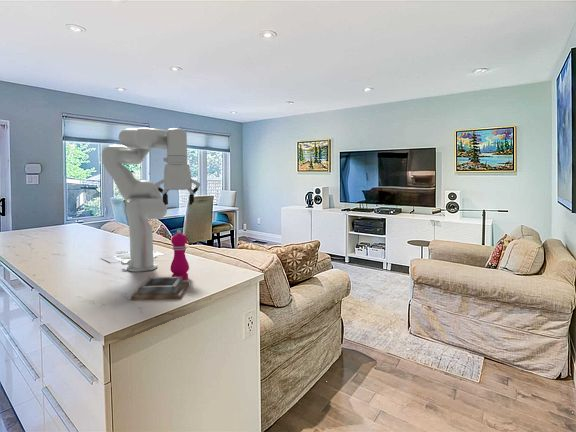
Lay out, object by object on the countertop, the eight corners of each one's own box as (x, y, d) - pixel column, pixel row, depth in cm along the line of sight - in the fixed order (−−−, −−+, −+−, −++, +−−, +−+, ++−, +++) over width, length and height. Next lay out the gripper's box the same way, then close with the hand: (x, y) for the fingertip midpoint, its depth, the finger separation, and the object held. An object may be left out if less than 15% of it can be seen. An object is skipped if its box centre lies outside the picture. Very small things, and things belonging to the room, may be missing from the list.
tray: (168, 257, 185) (167, 250, 184) (112, 268, 165) (112, 260, 165) (151, 251, 199) (150, 245, 199) (98, 261, 179) (97, 254, 179)
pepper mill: (183, 281, 138) (182, 231, 136) (167, 280, 139) (165, 230, 137) (192, 276, 145) (191, 228, 143) (176, 275, 146) (175, 228, 144)
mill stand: (131, 300, 116) (130, 289, 116) (145, 285, 132) (145, 276, 131) (180, 298, 118) (180, 288, 117) (188, 284, 133) (188, 275, 133)
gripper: (151, 160, 132) (153, 205, 134) (198, 160, 134) (199, 204, 136) (157, 161, 140) (158, 204, 141) (201, 161, 142) (202, 203, 143)
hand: (178, 204), depth 139 cm, fingers open, 9 cm apart
